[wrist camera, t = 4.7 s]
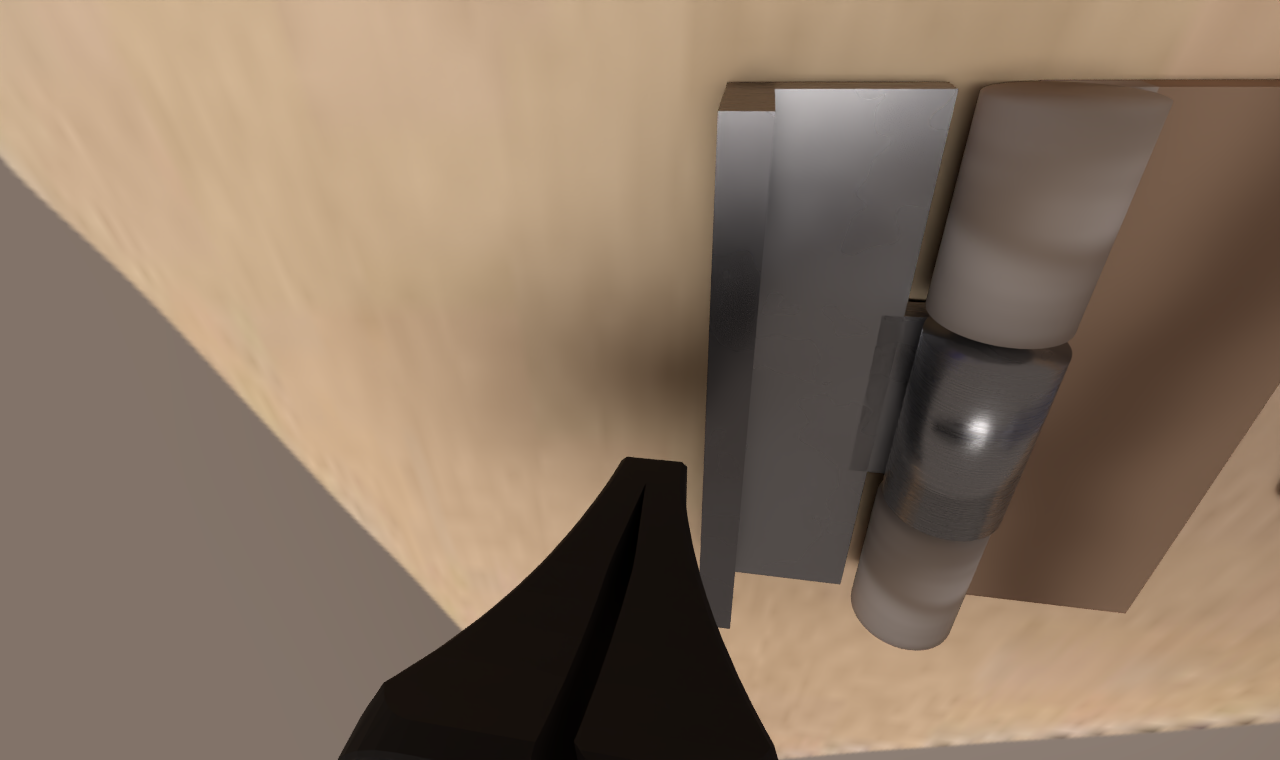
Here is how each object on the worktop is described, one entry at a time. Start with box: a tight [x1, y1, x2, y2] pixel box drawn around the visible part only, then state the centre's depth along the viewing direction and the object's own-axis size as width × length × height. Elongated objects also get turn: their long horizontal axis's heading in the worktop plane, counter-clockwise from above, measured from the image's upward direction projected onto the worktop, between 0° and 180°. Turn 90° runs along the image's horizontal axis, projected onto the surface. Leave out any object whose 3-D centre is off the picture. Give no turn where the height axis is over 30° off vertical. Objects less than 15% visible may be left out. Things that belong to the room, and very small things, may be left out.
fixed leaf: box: [851, 80, 1280, 650], centre depth 15 cm, size 8×15×3 cm, turn 1°
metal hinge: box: [700, 82, 1072, 629], centre depth 16 cm, size 8×15×3 cm, turn 1°
